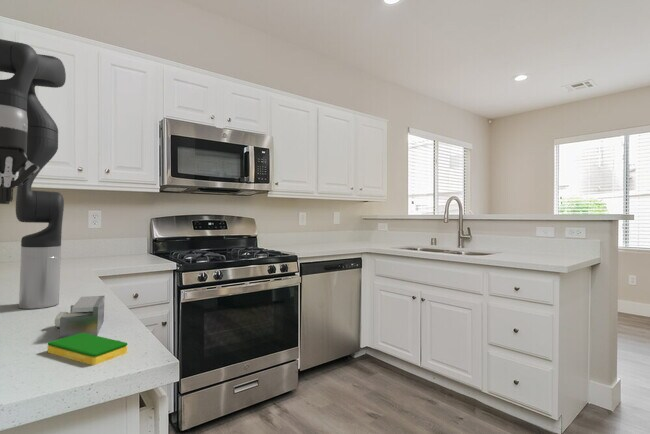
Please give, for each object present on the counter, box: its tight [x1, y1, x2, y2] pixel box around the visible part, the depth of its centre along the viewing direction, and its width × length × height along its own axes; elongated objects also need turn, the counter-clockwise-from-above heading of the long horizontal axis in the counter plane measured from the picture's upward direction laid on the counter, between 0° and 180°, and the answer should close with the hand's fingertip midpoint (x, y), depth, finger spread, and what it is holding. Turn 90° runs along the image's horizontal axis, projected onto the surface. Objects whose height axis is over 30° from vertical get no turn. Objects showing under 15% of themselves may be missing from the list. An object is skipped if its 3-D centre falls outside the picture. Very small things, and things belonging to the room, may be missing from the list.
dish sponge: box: [47, 333, 128, 366], centre depth 72 cm, size 7×14×2 cm, turn 67°
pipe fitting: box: [54, 311, 93, 328], centre depth 86 cm, size 8×4×7 cm
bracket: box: [59, 295, 105, 339], centre depth 86 cm, size 12×7×6 cm, turn 25°
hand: (3, 203), depth 83 cm, fingers closed
